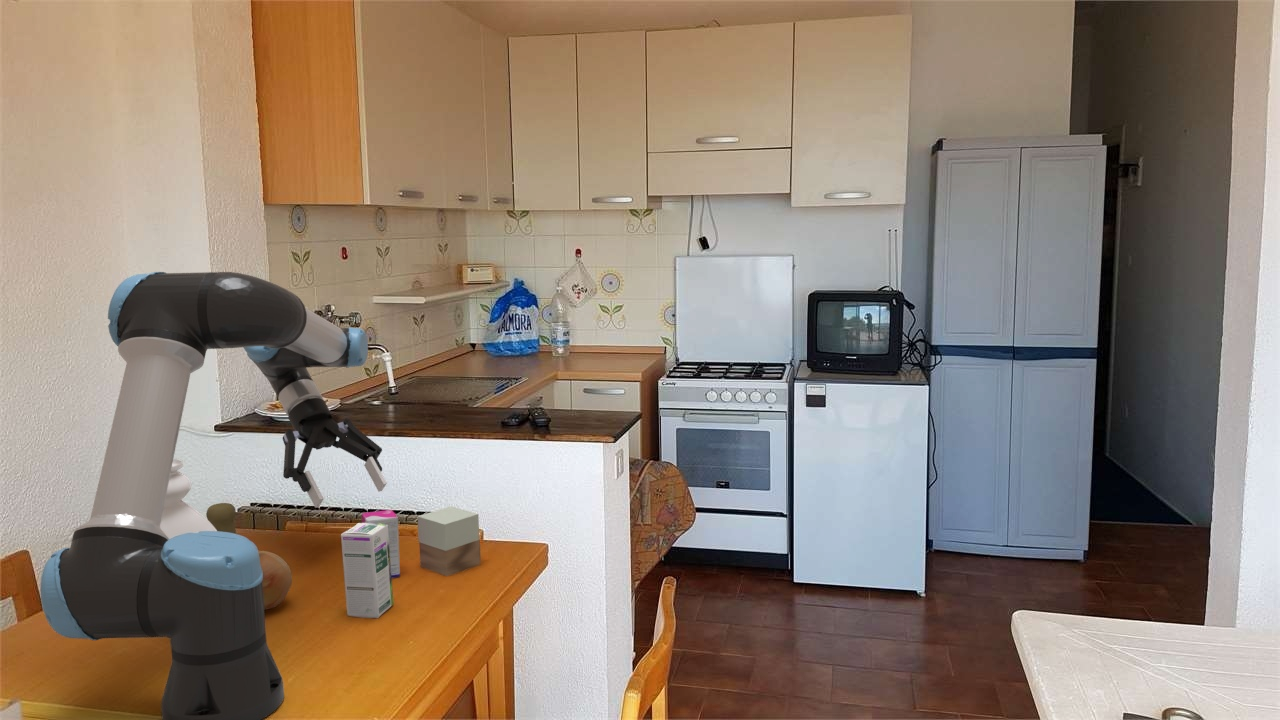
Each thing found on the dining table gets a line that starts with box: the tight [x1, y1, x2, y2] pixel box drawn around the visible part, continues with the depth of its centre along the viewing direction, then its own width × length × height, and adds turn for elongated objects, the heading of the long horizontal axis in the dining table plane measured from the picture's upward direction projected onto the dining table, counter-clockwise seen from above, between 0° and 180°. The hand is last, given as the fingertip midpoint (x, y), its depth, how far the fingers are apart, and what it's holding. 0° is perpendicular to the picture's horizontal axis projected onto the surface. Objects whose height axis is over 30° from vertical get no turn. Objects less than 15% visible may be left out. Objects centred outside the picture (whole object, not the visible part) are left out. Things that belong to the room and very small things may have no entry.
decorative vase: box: [160, 458, 217, 539], centre depth 163 cm, size 18×18×25 cm
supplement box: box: [361, 509, 401, 579], centre depth 177 cm, size 6×6×12 cm
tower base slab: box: [418, 539, 482, 577], centre depth 182 cm, size 8×8×5 cm
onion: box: [258, 550, 293, 611], centre depth 162 cm, size 10×10×10 cm
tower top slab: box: [417, 505, 480, 551], centre depth 181 cm, size 8×8×5 cm
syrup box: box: [340, 522, 394, 619], centre depth 160 cm, size 6×6×14 cm
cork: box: [205, 502, 237, 534], centre depth 187 cm, size 6×6×11 cm
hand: (352, 495), depth 183 cm, fingers open, 13 cm apart
